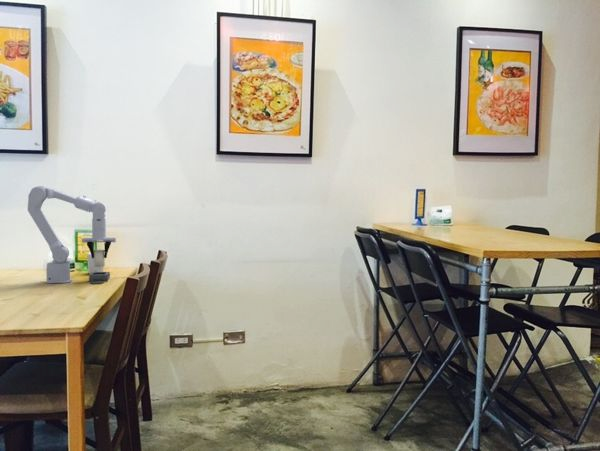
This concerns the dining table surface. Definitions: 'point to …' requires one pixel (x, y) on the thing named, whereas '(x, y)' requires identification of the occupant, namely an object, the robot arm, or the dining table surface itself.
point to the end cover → (99, 258)
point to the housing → (99, 276)
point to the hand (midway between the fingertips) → (99, 257)
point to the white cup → (91, 265)
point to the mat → (97, 282)
